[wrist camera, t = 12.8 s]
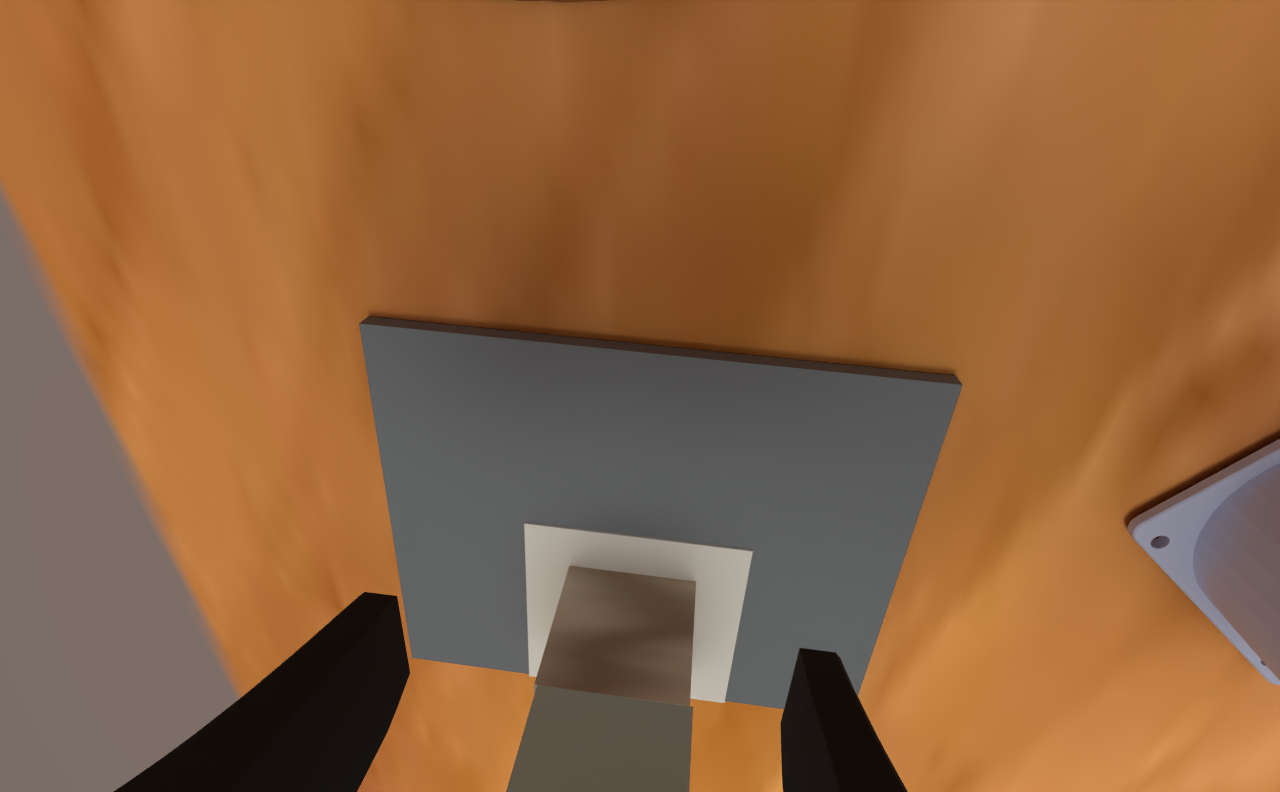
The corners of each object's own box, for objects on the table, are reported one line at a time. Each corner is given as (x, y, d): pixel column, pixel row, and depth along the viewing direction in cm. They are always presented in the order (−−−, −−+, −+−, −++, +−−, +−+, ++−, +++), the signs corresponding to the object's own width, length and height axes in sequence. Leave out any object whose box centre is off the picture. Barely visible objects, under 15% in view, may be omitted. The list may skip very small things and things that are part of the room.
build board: (955, 376, 19) (963, 386, 19) (847, 705, 26) (850, 720, 26) (368, 316, 20) (357, 324, 20) (418, 646, 28) (411, 659, 27)
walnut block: (696, 581, 23) (689, 705, 19) (683, 668, 25) (676, 797, 21) (569, 565, 24) (534, 683, 19) (568, 652, 26) (536, 776, 21)
